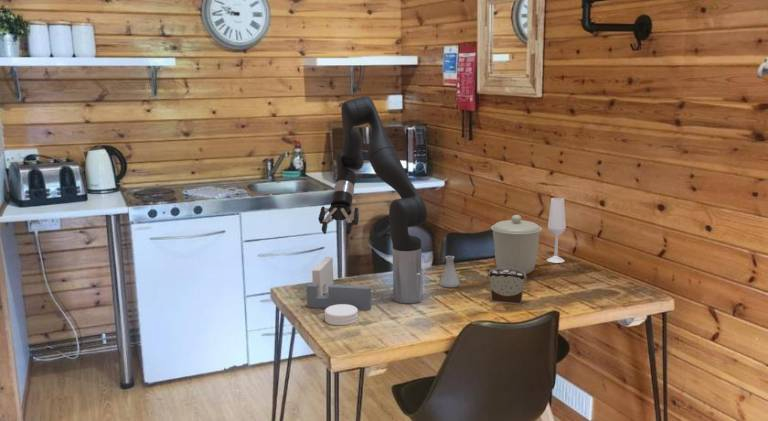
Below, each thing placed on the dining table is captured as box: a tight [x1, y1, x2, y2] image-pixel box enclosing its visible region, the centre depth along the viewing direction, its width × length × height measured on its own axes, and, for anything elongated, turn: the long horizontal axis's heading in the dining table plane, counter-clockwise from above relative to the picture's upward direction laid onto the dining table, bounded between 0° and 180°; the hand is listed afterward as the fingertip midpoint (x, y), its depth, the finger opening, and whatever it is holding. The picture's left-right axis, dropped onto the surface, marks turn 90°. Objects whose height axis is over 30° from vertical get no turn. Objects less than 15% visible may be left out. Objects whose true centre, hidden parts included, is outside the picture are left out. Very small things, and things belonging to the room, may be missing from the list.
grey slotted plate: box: [306, 283, 372, 311], centre depth 221 cm, size 20×2×7 cm, turn 79°
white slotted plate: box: [311, 256, 334, 296], centre depth 236 cm, size 16×2×10 cm, turn 169°
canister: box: [490, 214, 543, 275], centre depth 254 cm, size 18×18×21 cm
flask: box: [439, 255, 461, 288], centre depth 241 cm, size 7×7×10 cm
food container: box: [487, 267, 527, 305], centre depth 225 cm, size 12×6×10 cm, turn 71°
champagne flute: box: [546, 197, 567, 264], centre depth 267 cm, size 7×7×24 cm
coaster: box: [324, 304, 359, 326], centre depth 211 cm, size 10×10×4 cm
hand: (335, 233), depth 251 cm, fingers open, 8 cm apart
